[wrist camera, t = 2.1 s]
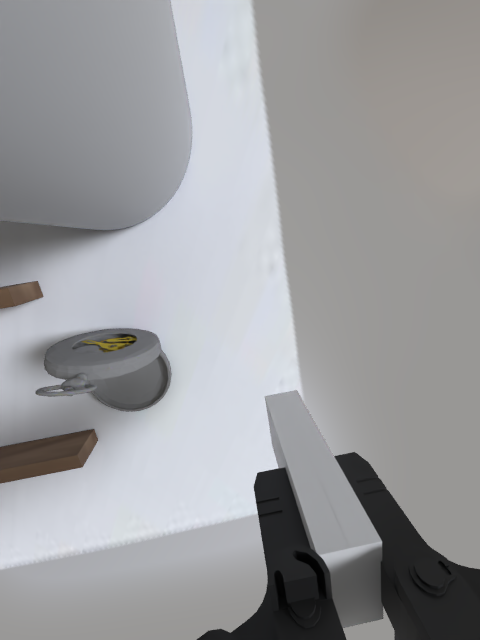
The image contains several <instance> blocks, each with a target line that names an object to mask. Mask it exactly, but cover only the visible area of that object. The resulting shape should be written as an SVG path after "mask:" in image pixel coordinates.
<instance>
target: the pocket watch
mask: <svg viewBox="0 0 480 640" xmlns="http://www.w3.org/2000/svg"><path fill="white" fill-rule="evenodd" d="M44 366H45V370H46V371H47V372H48V374H50V375H52V376H54V377H56V378H60V379H65V380H66V381H65V382H63V383H62V385H56V386H49V387H44V388H40V389H38V390H37V391H36V394H37V395H40V396H73V395H75V394H82V393H88V392H92V394H93V395H94V396H95V397H96V398H97V399H98V400H99V401H101V402H102V403H104V404H105V405H107V406H109V407H112V408H114V409H118V410H121V411H140V410H144V409H147V408H149V407H151V406H153V405H155V404H156V403H157V402H159V401H160V400H161V399H162V398H163V397H164V395H165V394H166V392H167V390H168V388H169V386H170V380H171V375H172V374H171V367H170V363H169V361H168V359H167V357H166V355H165V354H164V352H163V351H162V350H161V345H160V341H159V338H158V337H157V335H155V334H154V333H152V332H149V331H145V330H140V329H107V330H100V331H95V332H89V333H85V334H81V335H77V336H74V337H71V338H68V339H65V340H63V341H61V342H58V343H57V344H55V345H53V346H52V347H51V348H49V349H48V350H47V352H46V354H45V360H44ZM57 389H63V390H64V391H62V392H46V391H51V390H57Z"/></svg>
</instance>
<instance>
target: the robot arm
mask: <svg viewBox="0 0 480 640" xmlns="http://www.w3.org/2000/svg"><path fill="white" fill-rule="evenodd" d="M265 400H266V407H267V413H268V420H269V426H270V433H271V440H272V446H273V449H274V453H275V456H276V460H277V463H278V467H279V469H274V470H269V471H264V472H259V473H257V477H256V480H255V484H254V491H255V498H256V504H257V510H258V515H259V523H260V529H261V535H262V541H263V548H264V554H265V560H266V566H267V575H268V584H267V591H266V594H265V597H264V600H263V602H262V604H261V606H260V607H259V609H258V610H257V612H256V613H255V614H254V615H253V616H252V617H251V618H250V619H248V620H247V621H246V622H245V623H243V624H242V625H241V626H239V627H238V628H237V629H235V630H234V631H233V632H231V633H229V632H227V631H225V630H222V629H217V630H211V631H208V632H206V633H205V634H204V635H202V636H201V637H200V638H198V639H197V640H346V637H345V634H344V631H343V628H345V627H349V626H354V625H358V624H363V623H367V622H371V621H376V620H380V619H383V607H384V609H385V611H386V613H387V615H388V617H389V619H390V621H391V624H392V626H393V628H394V630H395V640H480V569H474V568H468V567H465V566H461V565H458V564H455V563H453V562H451V561H449V560H447V558H445V557H444V556H442V555H441V554H440V553H438V552H436V551H435V550H433V549H432V548H431V547H429V546H428V545H427V543H426V542H425V541H424V540H423V539H422V538H421V536H420V535H419V534H418V532H417V531H416V529H415V528H414V526H413V525H412V524H411V522H410V521H409V519H408V518H407V516H406V515H405V514H404V512H403V511H402V509H401V508H400V507H399V505H398V504H397V502H396V501H395V500H394V498H393V497H392V495H391V494H390V492H389V491H388V490H387V489H386V487H385V485H384V484H383V483H382V481H381V480H380V479H379V478H378V475H377V474H376V472H375V471H374V470H373V468H372V467H371V465H370V464H369V463H368V462H367V461H366V460H364V459H363V458H362V457H361V456H359V455H358V454H357V453H355V452H353V453H348V454H343V455H338V456H334V455H333V453H332V452H331V450H330V448H329V446H328V445H327V443H326V441H325V439H324V438H323V436H322V434H321V432H320V430H319V429H318V427H317V425H316V423H315V422H314V420H313V418H312V416H311V414H310V413H309V411H308V409H307V407H306V405H305V404H304V402H303V400H302V398H301V397H300V395H299V393H298V391H297V390H295V391H290V392H285V393H280V394H274V395H269V396H265Z"/></svg>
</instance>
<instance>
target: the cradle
mask: <svg viewBox="0 0 480 640" xmlns="http://www.w3.org/2000/svg"><path fill="white" fill-rule="evenodd" d="M41 297H43V294H42V291H41V289H40V286H39V283H38V281H35V282H29V283H22V284H16V285H10V286H4V287H0V309H1V308H7V307H13V306H17V305H20V304H23V303H26V302H29V301H32V300H35V299H38V298H41ZM97 441H98V438H97V436H96V433H95V430H94V429H92V430H86V431H81V432H76V433H71V434H66V435H60V436H55V437H50V438H45V439H40V440H34V441H29V442H24V443H19V444H14V445H8V446H3V447H0V483H5V482H10V481H15V480H20V479H25V478H30V477H35V476H40V475H46V474H51V473H56V472H61V471H66V470H71V469H76V468H81V467H83V465H84V464H85V462H86V460H87V459H88V457H89V455H90V453H91V452H92V450H93V448H94V447H95V445H96V443H97Z"/></svg>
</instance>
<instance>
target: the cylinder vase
mask: <svg viewBox="0 0 480 640" xmlns="http://www.w3.org/2000/svg"><path fill="white" fill-rule="evenodd" d="M191 147H192V120H191V112H190V106H189V101H188V95H187V90H186V84H185V78H184V73H183V67H182V62H181V56H180V51H179V45H178V40H177V34H176V29H175V23H174V18H173V12H172V7H171V1H170V0H0V221H9V222H20V223H30V224H41V225H51V226H62V227H72V228H83V229H93V230H115V229H122V228H126V227H130V226H133V225H136V224H138V223H141V222H143V221H145V220H147V219H148V218H150V217H152V216H153V215H155V214H156V213H157V212H158V211H160V210H161V209H162V208H163V207H164V206H165V205H166V204H167V203H168V202H169V201H170V199H171V198H172V197H173V195H174V194H175V193H176V191H177V189H178V188H179V186H180V184H181V182H182V180H183V178H184V175H185V173H186V170H187V167H188V163H189V159H190V154H191Z"/></svg>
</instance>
